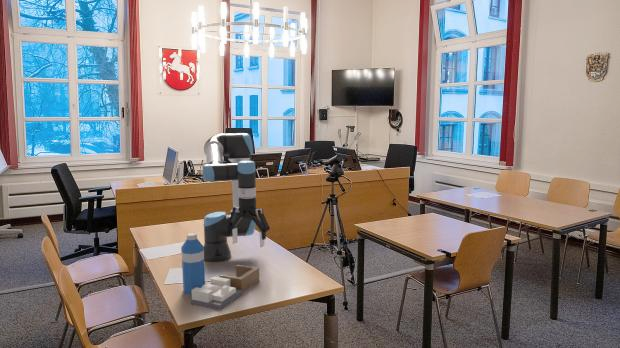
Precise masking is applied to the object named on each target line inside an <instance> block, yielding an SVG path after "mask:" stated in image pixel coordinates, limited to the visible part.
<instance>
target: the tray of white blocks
mask: <svg viewBox="0 0 620 348" xmlns="http://www.w3.org/2000/svg"><path fill="white" fill-rule="evenodd" d="M242 295H243V292H242V290H239V289H236V288H235V287H231V284H230V279H227V278H221V277H220V276H212V277H210V283H205V284H204V285H203V286H202V287H201V288H198V287H196V288H194V289H192V295H191V299H190V305H195V306H199V307H204V308H209V309H214V310H219V311H221V310H222V309H224V308H225V307H227V306H228V305H230V304H231V303H232V302H234V301H235V300H237V299H238V298H239V297H240V296H242Z"/></svg>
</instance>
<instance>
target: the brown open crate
mask: <svg viewBox="0 0 620 348" xmlns="http://www.w3.org/2000/svg"><path fill="white" fill-rule="evenodd" d="M235 271H236V272H235V274H236V276H234V275H230V274H228V275H227V274H223V273H222V274H220V275H219V277H221V278H227V279H230V284H231V287H235V288H236V289H239V290H242V293H244V292H245V291H247V290H248V289H249V288H251V287H252V286H254V285H255V284H256V283H258V282H260V267H256V266H249V265H243V264H237V265H235Z"/></svg>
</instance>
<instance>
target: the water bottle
mask: <svg viewBox="0 0 620 348" xmlns="http://www.w3.org/2000/svg"><path fill="white" fill-rule="evenodd" d="M180 251H181V267H182V269H181V270H182V271H181V272H182V285H183V286H182V289H183V292H184V294H185V295H191V296H192V289H194V288H196V287H198V288H201V287H202V286H203V285H204V284H206V274H205V260H204V244H202V243H201V241H200V240H199V239H198V234H197V233H196V232H191V233H190V232H189V233H188V234H186V240H185V241H184V242H183V245H182V246H181V248H180Z"/></svg>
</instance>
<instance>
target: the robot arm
mask: <svg viewBox="0 0 620 348" xmlns="http://www.w3.org/2000/svg"><path fill="white" fill-rule="evenodd" d="M253 147H254V146H253V141H252V138H251V135H250V134H249V133H248V132H247V133H245V132H235V133H233V132H232V133H231V132H230V133H217V134H214V135H213V136H211V137H209V138H208V139H207V140H206V141H205V143H204V146H203V152H204V154H205V156H206V164H203V165H202V180H203V181H204V182H224V181H225V182H226V181H231V186H232V187H231V188H232V189H231V190H232V208H231V210H229V212H230V214H227V212H226V211H214V212H211V213H208V214H206V215H205V216H204V218H203V235H204V236H203V238H204V240H203V241H204V242H203V243H204V244H203V246H204V261H206V262H220V261H221V262H222V261H225V260H229V259H230V258H231V257H232V252H231V249H230V246H229V243H228V238H232V244H233V245H235V244H237V243H238V242H239V241H238V237H247V236H252V235H253V234H254V233H255V229H256V226H257V228H258V229H259V231H260V232H259V248H263V247H265V245H266V244H265V240H266V239H267V232H268V231H270V230H271V227H270V225H269V223H268V221H267V218H266V217H265V215H264V209H263V208H260V209H259V208H258V209H257V197H256V196H257V186H256V185H257V184H256V182H257V181H256V171H257V168H256V162H255V161H254V160H251V156H252V155H254V148H253ZM224 156H225V157H227V159H228V161H229V162H230V163H224V159H223V158H224Z"/></svg>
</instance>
